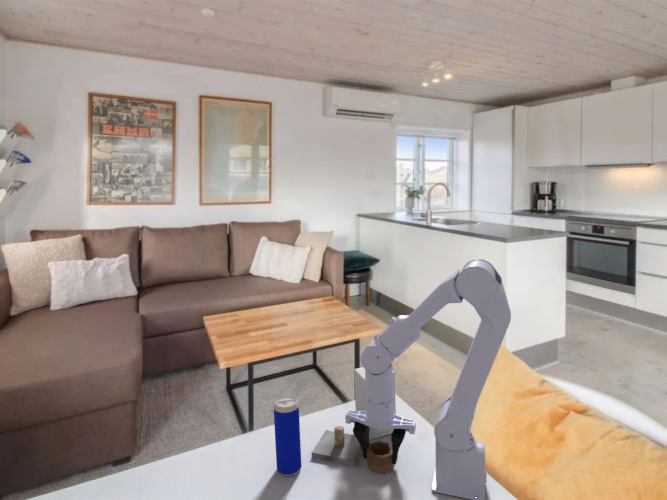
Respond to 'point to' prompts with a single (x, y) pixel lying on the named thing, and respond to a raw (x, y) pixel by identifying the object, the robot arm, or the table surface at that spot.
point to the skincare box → (361, 401)
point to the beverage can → (287, 435)
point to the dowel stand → (338, 447)
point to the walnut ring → (379, 457)
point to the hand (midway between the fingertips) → (380, 458)
